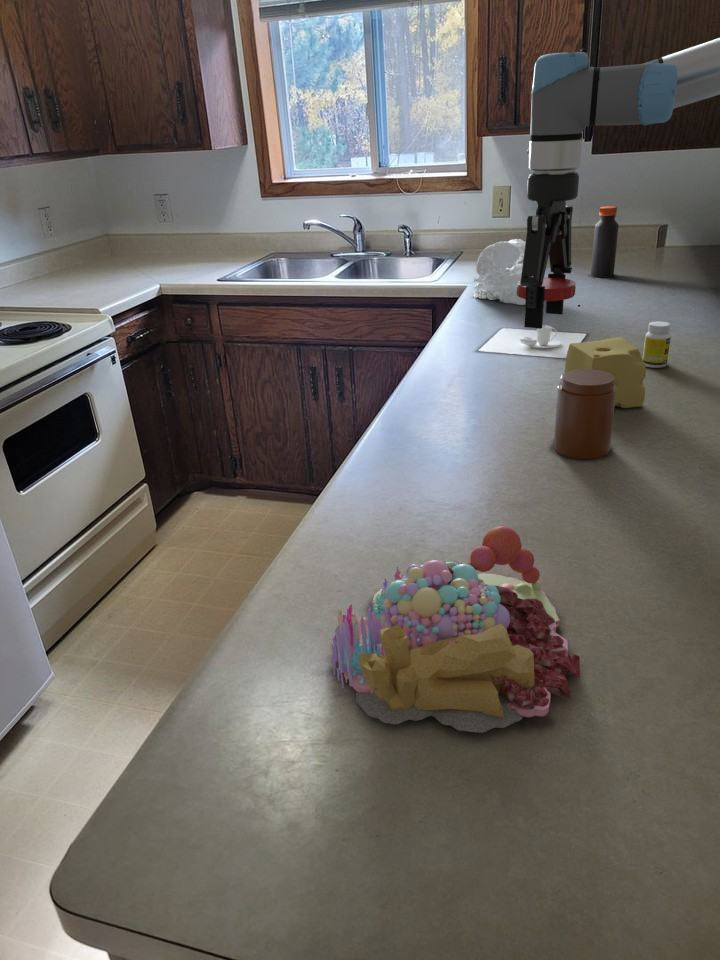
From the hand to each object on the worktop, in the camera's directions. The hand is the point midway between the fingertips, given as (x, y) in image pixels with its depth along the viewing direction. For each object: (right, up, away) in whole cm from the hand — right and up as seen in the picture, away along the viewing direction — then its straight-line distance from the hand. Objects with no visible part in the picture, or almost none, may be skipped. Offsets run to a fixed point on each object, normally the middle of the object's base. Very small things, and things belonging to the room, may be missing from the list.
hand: (543, 320), depth 121 cm
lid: (0, +5, -3) cm, 6 cm away
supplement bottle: (+29, -3, +28) cm, 41 cm away
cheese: (+13, -12, +12) cm, 22 cm away
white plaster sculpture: (+11, +25, +86) cm, 90 cm away
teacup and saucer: (+9, +5, +47) cm, 48 cm away
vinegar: (+45, +37, +108) cm, 123 cm away
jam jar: (+4, -21, -6) cm, 22 cm away
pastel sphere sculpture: (-21, -43, -47) cm, 67 cm away
